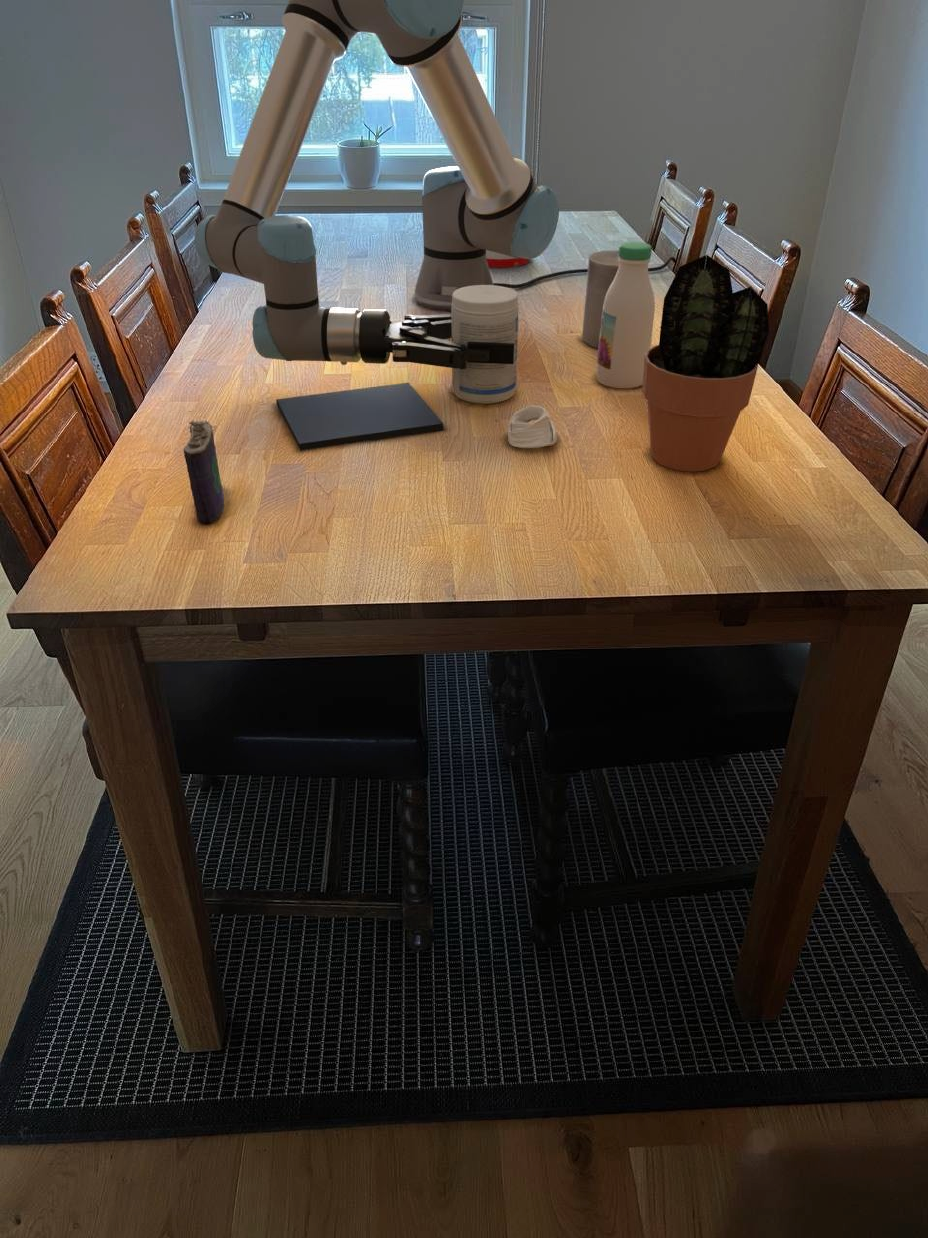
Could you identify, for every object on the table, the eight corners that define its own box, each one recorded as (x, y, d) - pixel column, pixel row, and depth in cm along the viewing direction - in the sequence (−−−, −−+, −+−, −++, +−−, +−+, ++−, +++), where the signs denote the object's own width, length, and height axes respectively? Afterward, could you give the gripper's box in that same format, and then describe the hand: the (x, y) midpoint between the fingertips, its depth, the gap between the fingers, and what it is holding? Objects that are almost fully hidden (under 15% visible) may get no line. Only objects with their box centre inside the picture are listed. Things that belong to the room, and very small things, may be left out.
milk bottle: (649, 375, 143) (667, 240, 132) (640, 392, 137) (658, 253, 126) (601, 368, 145) (614, 236, 134) (590, 385, 139) (603, 248, 128)
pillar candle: (645, 336, 158) (656, 245, 150) (628, 353, 151) (639, 259, 142) (591, 328, 162) (599, 238, 153) (573, 345, 154) (580, 252, 146)
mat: (408, 388, 138) (408, 382, 137) (443, 430, 126) (443, 423, 125) (276, 405, 132) (275, 399, 132) (299, 450, 120) (299, 443, 119)
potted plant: (676, 489, 112) (709, 279, 97) (611, 447, 122) (633, 250, 107) (761, 467, 117) (805, 264, 103) (693, 428, 127) (724, 238, 112)
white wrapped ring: (562, 458, 121) (568, 424, 118) (512, 457, 119) (518, 423, 116) (547, 429, 127) (553, 397, 124) (500, 428, 126) (505, 395, 122)
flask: (202, 488, 111) (188, 405, 105) (227, 487, 111) (214, 404, 105) (195, 526, 104) (179, 439, 97) (221, 525, 104) (207, 437, 98)
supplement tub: (528, 397, 135) (533, 296, 127) (475, 411, 131) (477, 307, 123) (491, 377, 142) (493, 279, 133) (439, 389, 138) (438, 289, 129)
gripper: (375, 336, 144) (516, 341, 143) (349, 389, 126) (511, 395, 125) (372, 288, 140) (518, 292, 139) (345, 335, 122) (513, 341, 121)
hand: (515, 341), depth 132 cm, fingers closed on supplement tub, 9 cm apart
